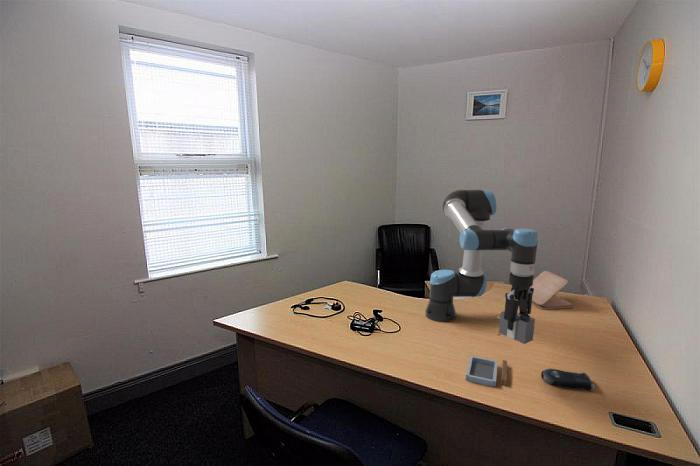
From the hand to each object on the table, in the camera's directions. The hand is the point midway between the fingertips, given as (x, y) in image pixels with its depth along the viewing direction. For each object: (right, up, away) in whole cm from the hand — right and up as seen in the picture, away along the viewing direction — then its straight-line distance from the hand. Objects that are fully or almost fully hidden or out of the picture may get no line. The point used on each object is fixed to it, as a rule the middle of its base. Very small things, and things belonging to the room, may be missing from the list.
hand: (515, 335), depth 130 cm
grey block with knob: (0, 0, 0) cm, 0 cm away
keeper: (-11, -15, +4) cm, 19 cm away
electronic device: (+17, -17, -1) cm, 24 cm away
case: (+51, -2, +73) cm, 89 cm away
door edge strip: (-3, -15, +3) cm, 16 cm away
